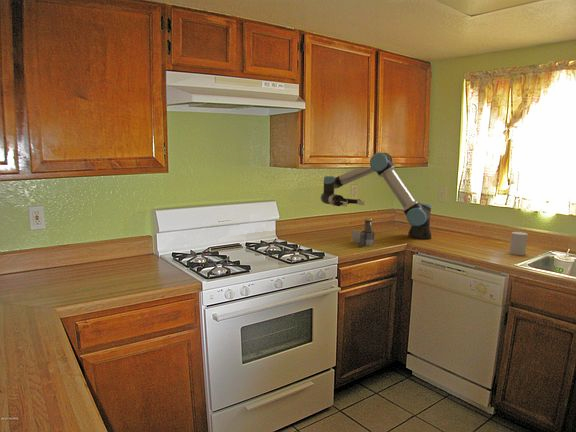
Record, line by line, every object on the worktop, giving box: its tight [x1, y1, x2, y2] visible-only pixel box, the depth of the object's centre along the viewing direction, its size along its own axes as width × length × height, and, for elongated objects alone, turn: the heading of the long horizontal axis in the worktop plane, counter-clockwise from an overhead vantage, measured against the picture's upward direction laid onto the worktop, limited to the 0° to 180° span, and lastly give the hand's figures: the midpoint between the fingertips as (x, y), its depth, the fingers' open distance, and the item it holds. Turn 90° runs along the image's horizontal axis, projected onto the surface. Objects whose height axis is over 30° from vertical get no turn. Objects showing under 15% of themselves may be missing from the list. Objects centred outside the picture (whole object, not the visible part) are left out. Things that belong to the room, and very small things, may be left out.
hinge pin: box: [363, 217, 373, 233], centre depth 257 cm, size 5×5×16 cm
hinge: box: [351, 229, 375, 249], centre depth 257 cm, size 14×14×8 cm
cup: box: [508, 231, 529, 256], centre depth 244 cm, size 8×8×12 cm
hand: (355, 203), depth 268 cm, fingers open, 13 cm apart
